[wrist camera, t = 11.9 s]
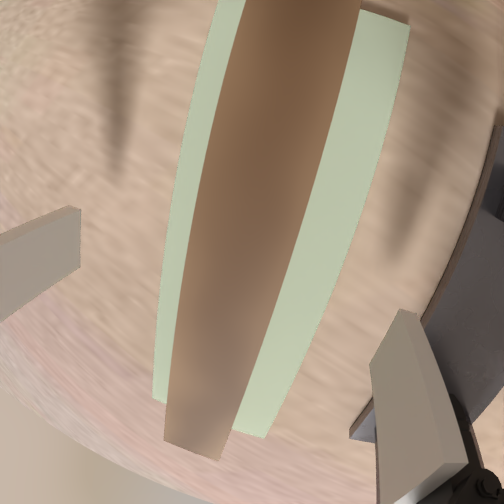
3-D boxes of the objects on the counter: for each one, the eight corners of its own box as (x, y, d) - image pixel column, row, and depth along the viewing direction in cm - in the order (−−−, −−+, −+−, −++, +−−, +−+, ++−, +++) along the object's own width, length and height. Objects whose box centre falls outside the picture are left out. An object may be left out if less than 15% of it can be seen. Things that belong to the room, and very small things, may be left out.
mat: (155, 392, 20) (152, 398, 19) (227, -10, 11) (223, -15, 10) (265, 432, 19) (264, 438, 18) (407, 30, 10) (410, 26, 9)
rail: (184, 402, 19) (163, 440, 16) (272, 9, 10) (254, -27, 7) (233, 420, 18) (218, 461, 15) (354, 28, 10) (363, -6, 7)
